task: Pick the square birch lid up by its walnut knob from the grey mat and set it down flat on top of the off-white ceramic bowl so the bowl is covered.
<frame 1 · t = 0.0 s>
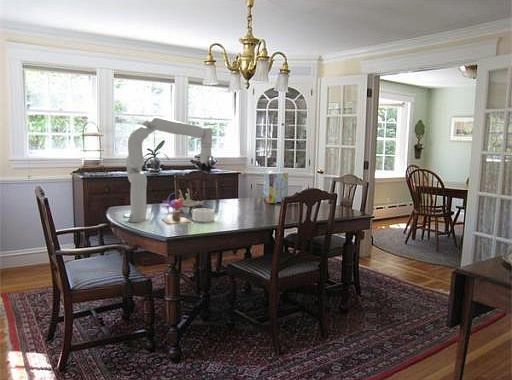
hand: (205, 171, 291), 31 cm above the table, tool pointing down, fingers open, 9 cm apart
snack box: (275, 202, 368), on the table
jawbone: (192, 207, 334), on the table
birch lid: (176, 221, 272), resting on grey mat
heart model: (174, 212, 307), on the table
ceramic bowl: (203, 220, 280), on the table
grey mat: (176, 222, 272), on the table
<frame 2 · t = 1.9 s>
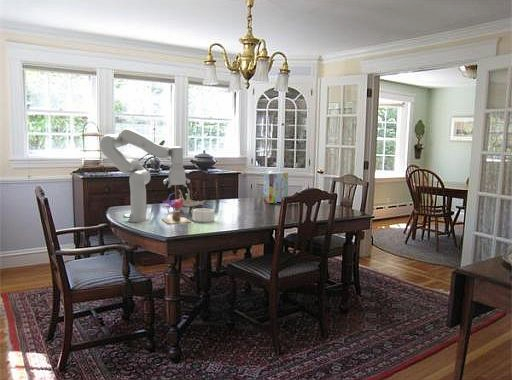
hand: (177, 193, 270), 18 cm above the table, tool pointing down, fingers open, 9 cm apart
nothing on the table moved.
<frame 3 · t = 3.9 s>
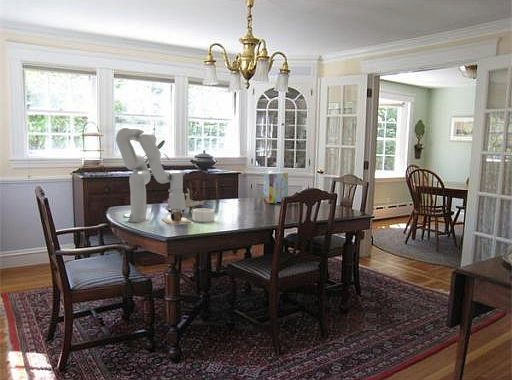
hand: (176, 219, 272), 2 cm above the table, tool pointing down, fingers closed on birch lid, 4 cm apart
birch lid: (176, 221, 272), resting on grey mat, touching gripper
everything else where it was.
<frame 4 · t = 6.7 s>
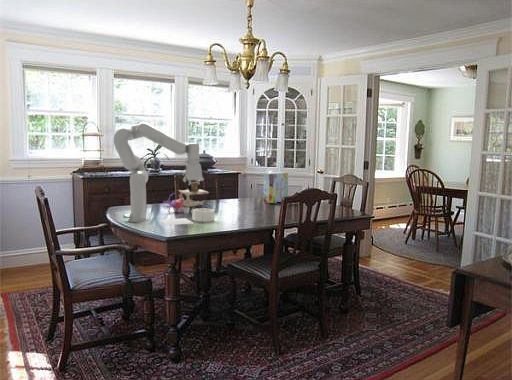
hand: (193, 190, 275), 20 cm above the table, tool pointing down, fingers closed on birch lid, 4 cm apart
birch lid: (193, 192, 275), point 19 cm above the table, touching gripper
everything else where it was.
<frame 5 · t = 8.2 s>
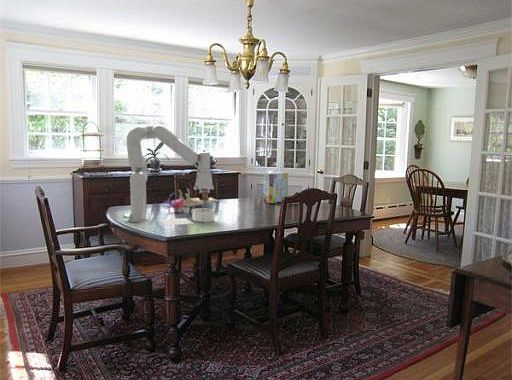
hand: (203, 199, 279), 14 cm above the table, tool pointing down, fingers closed on birch lid, 4 cm apart
birch lid: (203, 201, 279), point 13 cm above the table, touching gripper
everything else where it was.
when the fingers open (10 cm above the table, at t = 9.3 s): birch lid drops 1 cm, resting on ceramic bowl.
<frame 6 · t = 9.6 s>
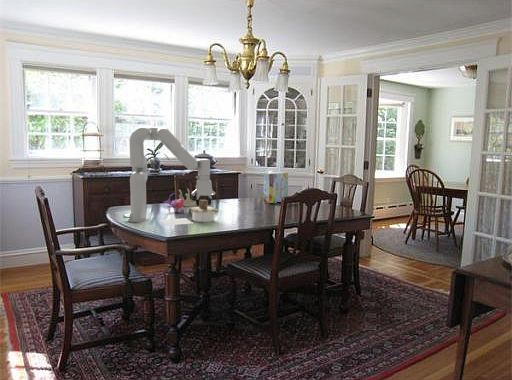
hand: (203, 204, 279), 10 cm above the table, tool pointing down, fingers open, 7 cm apart
birch lid: (203, 210, 279), point 7 cm above the table, touching ceramic bowl
everything else where it was.
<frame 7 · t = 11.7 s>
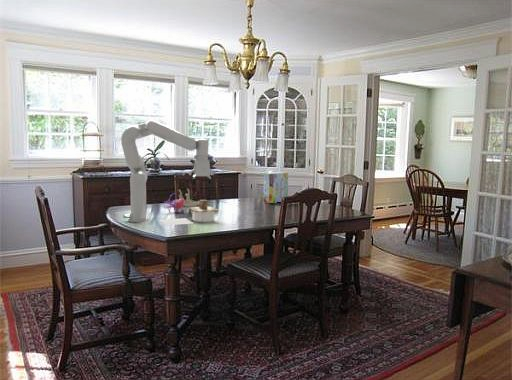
hand: (201, 184, 278), 23 cm above the table, tool pointing down, fingers open, 9 cm apart
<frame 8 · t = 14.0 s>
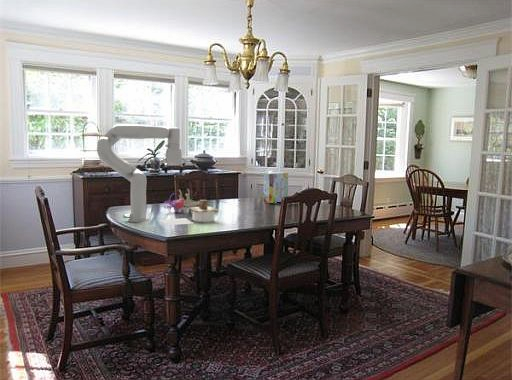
hand: (173, 173, 279), 30 cm above the table, tool pointing down, fingers open, 9 cm apart
at the end: birch lid 0.1 cm off-centre on the ceramic bowl, point 7.0 cm above the ceramic bowl's base; birch lid tilted 0°; the gripper is holding nothing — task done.
